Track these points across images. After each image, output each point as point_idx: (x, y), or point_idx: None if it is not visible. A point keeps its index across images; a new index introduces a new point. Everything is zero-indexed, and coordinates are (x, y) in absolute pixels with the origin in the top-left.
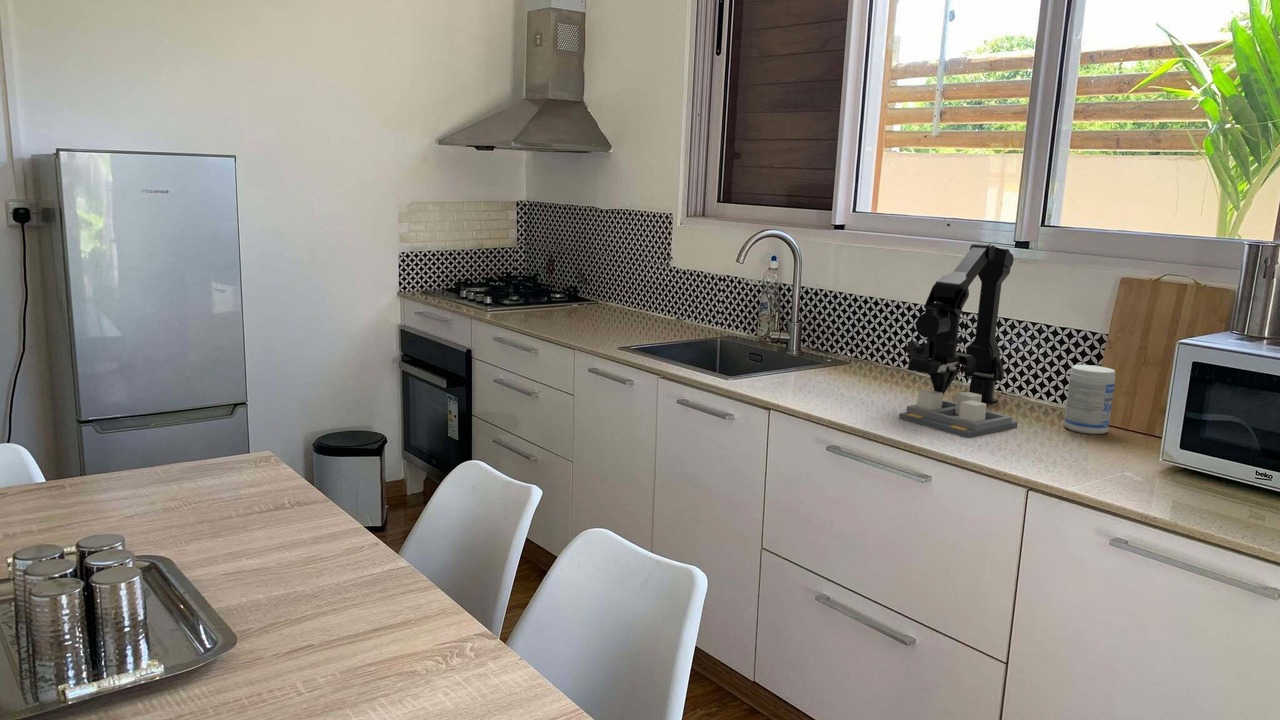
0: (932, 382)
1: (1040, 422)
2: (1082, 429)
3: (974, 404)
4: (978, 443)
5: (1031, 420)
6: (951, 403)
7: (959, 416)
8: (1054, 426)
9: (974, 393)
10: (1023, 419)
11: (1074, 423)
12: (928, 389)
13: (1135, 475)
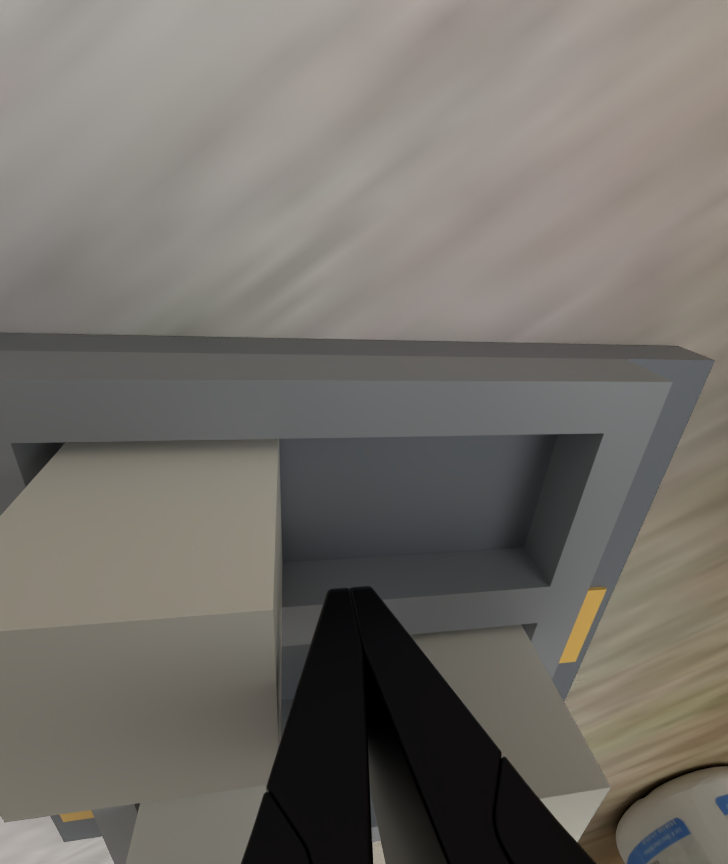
0: (245, 850)
1: (694, 719)
2: (618, 849)
3: None
4: (50, 854)
5: (708, 692)
6: (573, 509)
7: (137, 816)
8: (658, 762)
9: (576, 835)
10: (705, 674)
11: (638, 857)
12: (253, 613)
13: None
